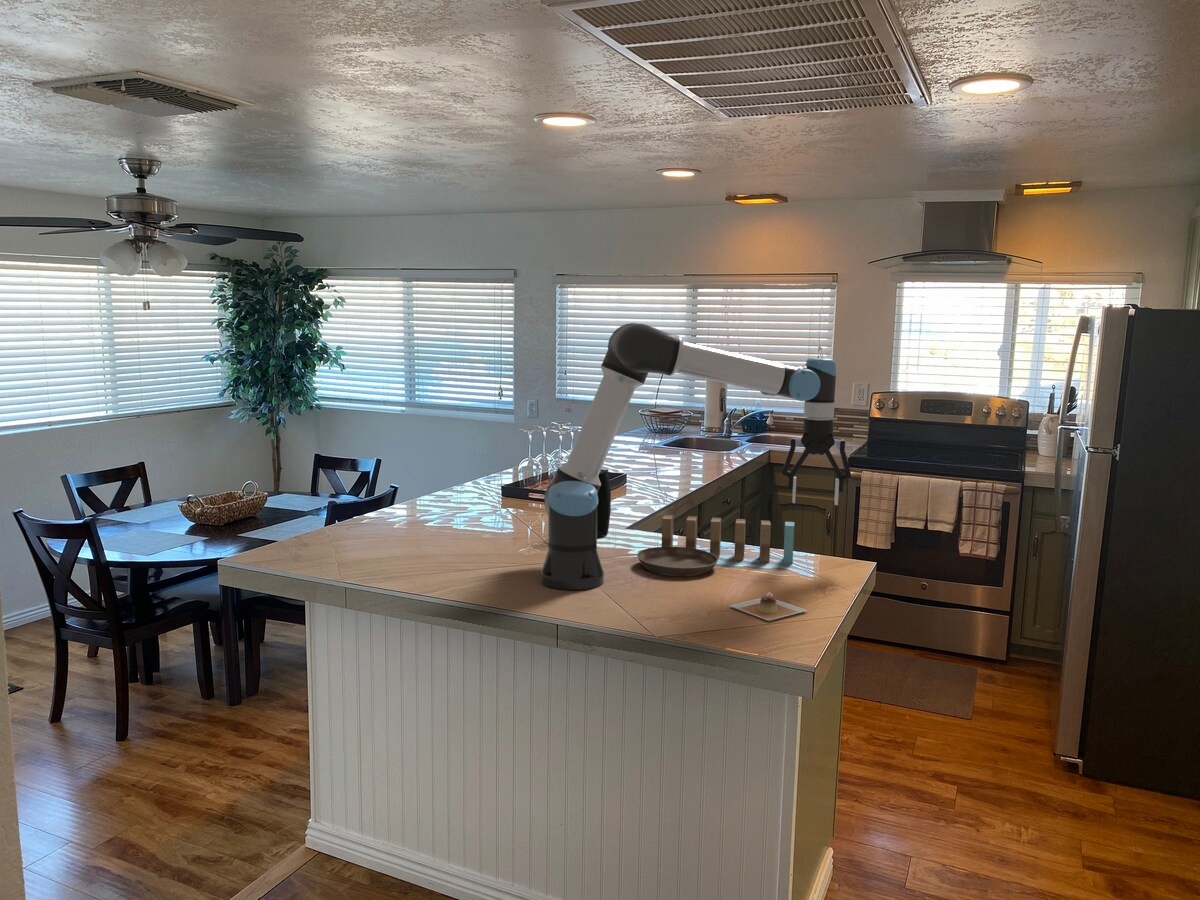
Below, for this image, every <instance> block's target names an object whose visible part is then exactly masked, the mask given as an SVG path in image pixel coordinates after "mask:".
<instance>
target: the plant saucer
mask: <svg viewBox="0 0 1200 900" xmlns="http://www.w3.org/2000/svg"><path fill="white" fill-rule="evenodd" d="M636 557H637V559H638V560H639V562H640V563H641V565H642V566H643V567H644V568H645V569H647V570H648V571H650V572H652V573H654V574H658V575H663V576H668V577H669V576H670V577H693V576H694V577H696V576H700V575H704V574H707V573H708V572H709V571H711V570H712V569H713V568H714V567H716V565H717V563H718V562H719V559H718V558H717V557H716V556H715V555H714V554H712V553H710V551H705V550H702V549H697V548H696V549H693V548H686V546H684V547H683V546H682V547H681V546H673V547H662V546H657V547H649V548H645V549H643V550H640V551H639V552H638V553H637V555H636Z"/></svg>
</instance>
